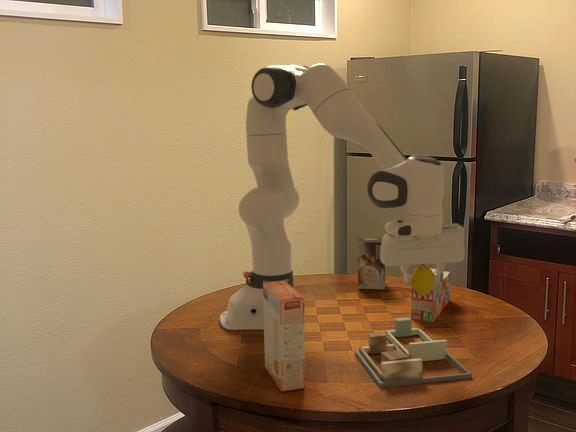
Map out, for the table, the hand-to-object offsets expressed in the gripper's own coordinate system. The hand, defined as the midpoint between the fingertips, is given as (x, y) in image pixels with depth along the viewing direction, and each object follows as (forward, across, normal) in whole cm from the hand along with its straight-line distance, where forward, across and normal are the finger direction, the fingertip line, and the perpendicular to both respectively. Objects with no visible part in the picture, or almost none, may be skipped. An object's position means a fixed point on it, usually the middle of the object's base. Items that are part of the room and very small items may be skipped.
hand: (421, 281), depth 152 cm
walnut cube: (+19, +10, +9) cm, 23 cm away
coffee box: (+19, -6, -57) cm, 61 cm away
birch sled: (+18, +10, +5) cm, 21 cm away
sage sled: (+18, 0, -4) cm, 19 cm away
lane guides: (+18, +5, +6) cm, 20 cm away
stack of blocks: (+19, -16, -31) cm, 40 cm away
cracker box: (+19, +35, +6) cm, 40 cm away
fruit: (+4, 0, +1) cm, 4 cm away
